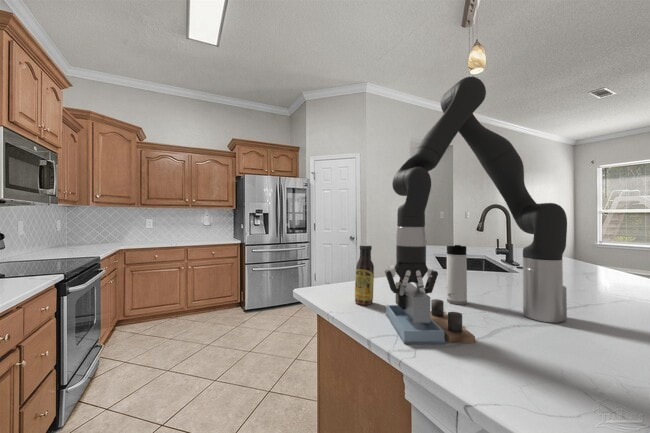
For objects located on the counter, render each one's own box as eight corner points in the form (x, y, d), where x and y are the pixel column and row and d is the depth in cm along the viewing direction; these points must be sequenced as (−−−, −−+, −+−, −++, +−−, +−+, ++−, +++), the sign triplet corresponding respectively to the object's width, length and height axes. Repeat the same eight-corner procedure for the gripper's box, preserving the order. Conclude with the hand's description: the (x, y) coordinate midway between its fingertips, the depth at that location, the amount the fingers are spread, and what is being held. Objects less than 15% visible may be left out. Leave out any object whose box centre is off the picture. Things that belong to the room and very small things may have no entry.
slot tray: (417, 315, 84) (416, 305, 84) (444, 344, 65) (444, 331, 65) (386, 315, 84) (386, 305, 84) (404, 344, 65) (404, 330, 65)
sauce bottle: (352, 304, 95) (351, 245, 96) (358, 299, 101) (358, 244, 101) (370, 307, 92) (370, 246, 92) (376, 302, 98) (376, 244, 98)
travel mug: (448, 304, 95) (447, 244, 95) (445, 299, 101) (445, 243, 102) (468, 306, 93) (468, 245, 93) (465, 300, 100) (464, 243, 100)
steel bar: (409, 302, 83) (409, 282, 83) (430, 322, 67) (430, 297, 67) (395, 302, 83) (395, 282, 83) (413, 322, 67) (413, 297, 67)
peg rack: (443, 316, 83) (442, 297, 83) (474, 342, 65) (474, 318, 65) (422, 316, 83) (422, 297, 84) (449, 342, 65) (448, 318, 66)
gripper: (432, 242, 79) (432, 304, 78) (381, 242, 79) (381, 304, 78) (443, 245, 71) (443, 313, 71) (387, 245, 71) (387, 313, 71)
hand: (411, 308), depth 75 cm, fingers closed on steel bar, 4 cm apart
